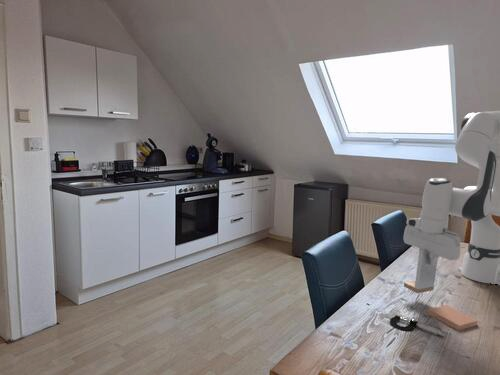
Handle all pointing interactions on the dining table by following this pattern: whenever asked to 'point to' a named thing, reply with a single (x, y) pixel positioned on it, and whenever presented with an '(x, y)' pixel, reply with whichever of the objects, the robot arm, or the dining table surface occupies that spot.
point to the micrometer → (413, 324)
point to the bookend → (423, 274)
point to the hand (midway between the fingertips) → (427, 263)
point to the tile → (453, 317)
